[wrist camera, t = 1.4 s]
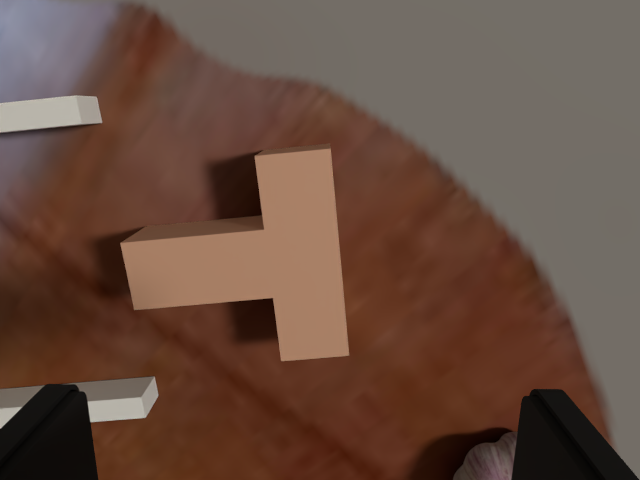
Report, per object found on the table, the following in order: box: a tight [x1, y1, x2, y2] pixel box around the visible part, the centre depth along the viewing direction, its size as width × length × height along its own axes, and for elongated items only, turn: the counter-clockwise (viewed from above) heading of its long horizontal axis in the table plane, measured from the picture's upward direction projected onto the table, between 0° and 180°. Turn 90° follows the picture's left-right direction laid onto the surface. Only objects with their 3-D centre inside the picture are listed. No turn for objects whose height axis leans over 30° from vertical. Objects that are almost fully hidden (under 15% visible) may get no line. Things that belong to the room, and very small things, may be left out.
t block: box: [120, 144, 349, 361], centre depth 29 cm, size 12×12×4 cm
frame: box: [0, 96, 159, 429], centre depth 30 cm, size 20×15×2 cm
